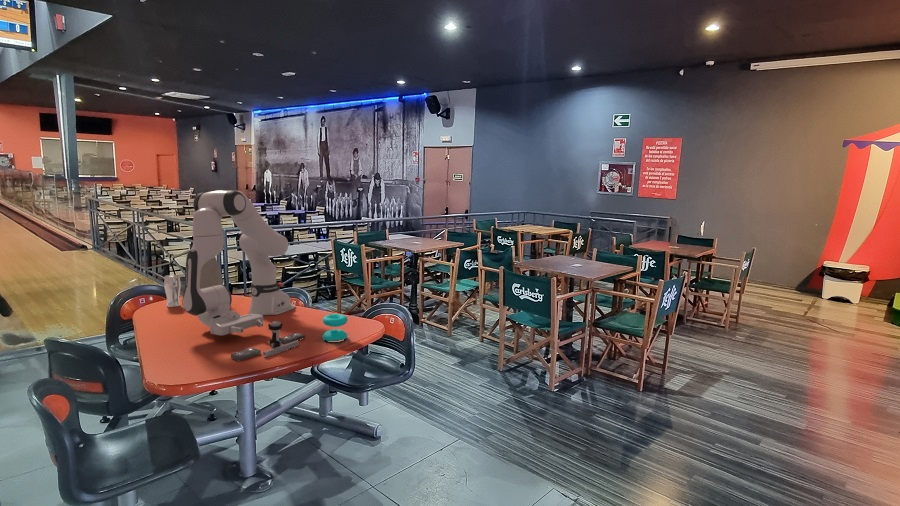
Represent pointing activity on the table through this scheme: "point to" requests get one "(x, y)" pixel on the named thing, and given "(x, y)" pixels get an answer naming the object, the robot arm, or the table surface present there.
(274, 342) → the push button
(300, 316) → the table surface
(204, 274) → the bowling pin
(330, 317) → the donuts
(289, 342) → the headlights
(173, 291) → the beer glass
